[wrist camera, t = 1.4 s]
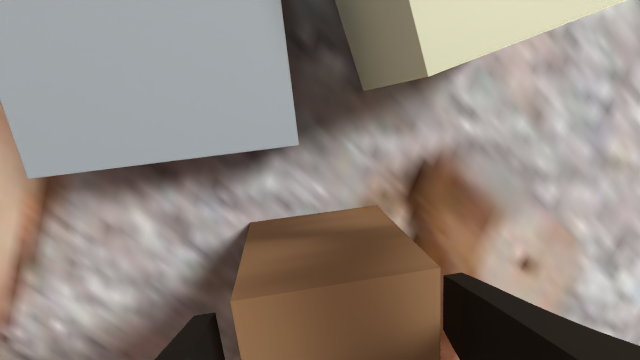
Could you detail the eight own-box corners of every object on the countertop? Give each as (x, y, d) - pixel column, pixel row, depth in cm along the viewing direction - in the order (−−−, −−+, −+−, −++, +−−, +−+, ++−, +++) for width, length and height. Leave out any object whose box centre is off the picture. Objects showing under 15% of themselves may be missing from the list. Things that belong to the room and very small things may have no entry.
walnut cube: (268, 331, 13) (261, 466, 8) (250, 221, 12) (229, 301, 7) (381, 311, 13) (439, 426, 8) (376, 204, 12) (440, 267, 7)
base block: (97, 160, 11) (28, 178, 8) (29, -71, 9) (-91, -158, 6) (293, 136, 11) (298, 144, 8) (266, -82, 10) (259, -165, 7)
